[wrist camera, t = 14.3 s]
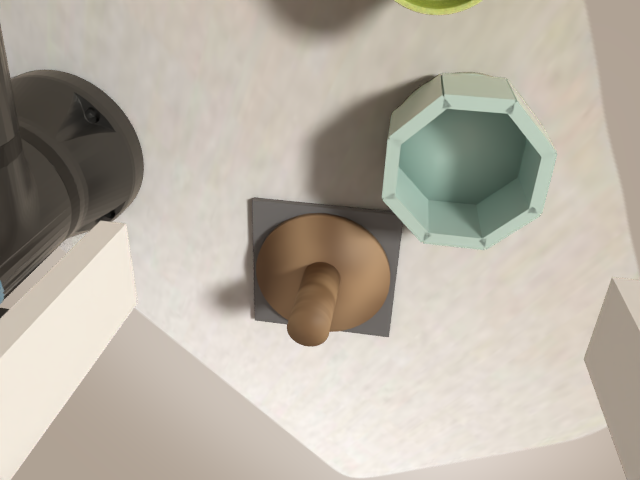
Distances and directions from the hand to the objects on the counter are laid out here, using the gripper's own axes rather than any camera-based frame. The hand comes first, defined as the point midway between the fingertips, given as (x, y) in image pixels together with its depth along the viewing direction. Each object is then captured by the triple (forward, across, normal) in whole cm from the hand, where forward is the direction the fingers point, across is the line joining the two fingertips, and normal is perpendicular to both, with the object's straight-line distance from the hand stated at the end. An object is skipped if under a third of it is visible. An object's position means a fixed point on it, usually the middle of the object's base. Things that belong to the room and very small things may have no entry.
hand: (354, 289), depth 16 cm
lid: (+34, -5, -22) cm, 41 cm away
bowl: (+35, +6, -8) cm, 36 cm away
